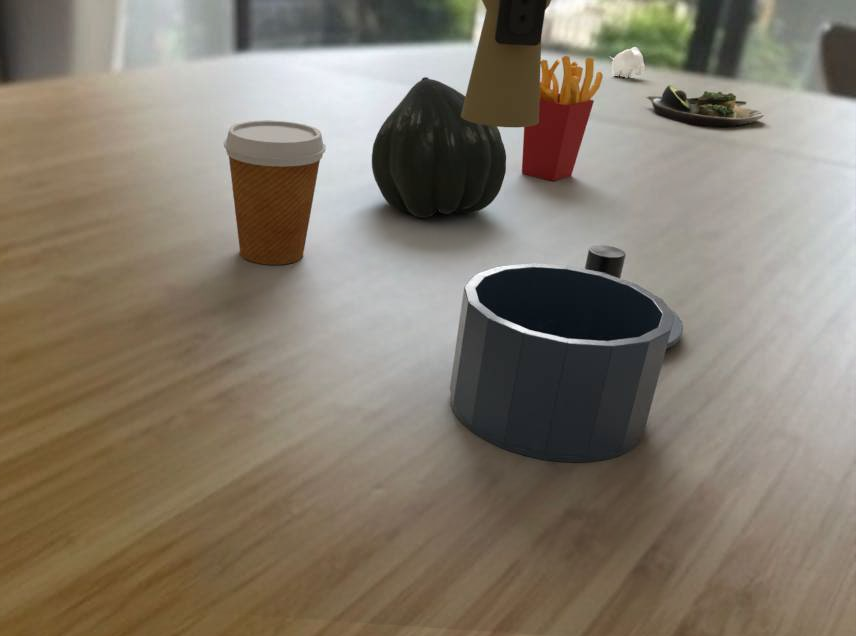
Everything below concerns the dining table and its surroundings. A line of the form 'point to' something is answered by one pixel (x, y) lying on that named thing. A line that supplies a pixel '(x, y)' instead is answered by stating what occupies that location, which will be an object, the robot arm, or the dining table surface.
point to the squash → (437, 155)
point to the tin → (558, 360)
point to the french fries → (559, 121)
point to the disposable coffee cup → (273, 187)
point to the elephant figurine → (628, 63)
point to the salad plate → (704, 108)
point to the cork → (503, 79)
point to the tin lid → (612, 264)
